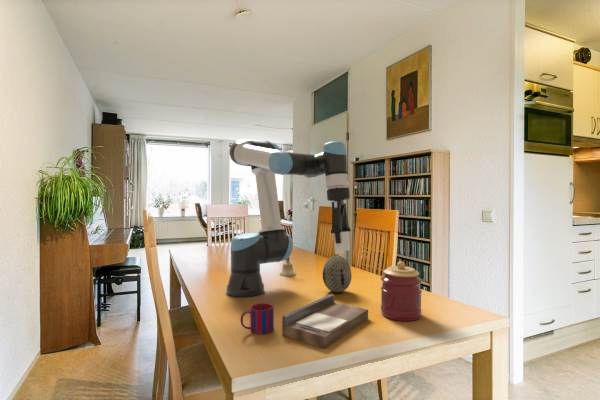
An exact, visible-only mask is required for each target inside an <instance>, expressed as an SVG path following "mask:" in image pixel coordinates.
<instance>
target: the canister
mask: <svg viewBox="0 0 600 400" xmlns="http://www.w3.org/2000/svg"><path fill="white" fill-rule="evenodd" d="M419 275H420V272H419V271H417V270H416V269H415V268H414V267H410V266H406V263H405V262H404V261H402V260H401V261H397V264H396V265H389V266H388V267H387V268H386V269H384V270H383V275H382V276H381V277H380V280H381V281H382V283H381V286H380V294H381V295H380V299H381V301H380V311H381V314H382V316H383V317H385V318H387V319H390V320H393V321H398V322H399V321H400V322H412V321H417V320H419V319H420V318H421V317H422V313H423V312H422V311H423V309H422V292H423V290H422V289H421V284H422V282H423V280H422V279H421V278H420V277H419Z"/></svg>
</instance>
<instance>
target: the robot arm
mask: <svg viewBox="0 0 600 400" xmlns="http://www.w3.org/2000/svg"><path fill="white" fill-rule="evenodd" d="M322 148H323V149H322V152H320V153H319V152H318V153H317V154H311V153H298V152H290V151H284V150H281V149H280V147H279V145H277V144H276V143H275V142H272V141H268V140H257V139H247V138H241V139H237V140H235V141H233V143H232V144H231V145H230V147H229V154H228V155H229V158H230V160H232V162H233V163H235V164H236V165H240V166H245V167H250V168H251V173H252V174H253V175H254V176H255V182H256V189H257V198H258V208H259V215H260V217H259V218H260V224H261V229H260V230H259V231H258V232H250V233H249V232H245V233H241V234H237V235H235V236H233V237H232V238H231V241H230V276H229V278H228V279H229V280H228V283H227V285H226V294H227V295H229V296H232V297H236V298H237V297H238V298H245V297H246V298H247V297H248V298H249V297H255V296H259V295H261V294H263V293H264V292H265V285H264V283H263V279H262V275H261V265H263V264H269V263H271V264H272V263H280V262H283V261H286V259H288V258H289V259H290V257H291V255H292V253H293V249H294V243H293V238H292V237H291V235H290V234H288V233H286V228H285V227H284V226H282V221H281V214H280V205H279V198H278V197H279V196H278V188H277V180H276V175H283V176H284V175H286V176H287V175H289V176H293V175H294V176H304V177H306V178H307V179H308V178H309V179H310V178H317V177H319V176H323V175H325V176H324V177H325V187H326V189H327V190H326V197H327V198H326V199H327V201H328V202H331V230H330V234H333V245H334V255H345V251H351V245H350V234H349V232H352V231H351V230H352V229H351V227H350V226H349V225H350V224H349V219H348V213H347V204H346V203H345V202H344V201H347V200H350V198H351V194H350V188H349V181H350V179H351V177H350V176H349V173H348V159H347V158H348V157H347V155H348V154H347V151H346V150H347V149H346V144H345V143H344V141H343V142H342V141H337V140H336V141H329V142H325V143H324V144H323V146H322Z"/></svg>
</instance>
